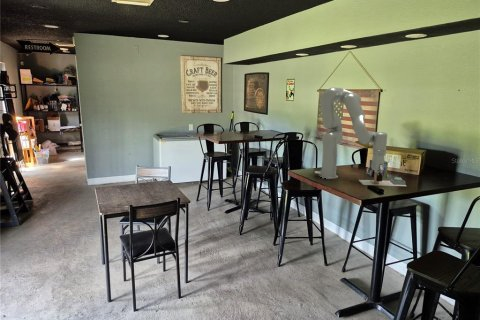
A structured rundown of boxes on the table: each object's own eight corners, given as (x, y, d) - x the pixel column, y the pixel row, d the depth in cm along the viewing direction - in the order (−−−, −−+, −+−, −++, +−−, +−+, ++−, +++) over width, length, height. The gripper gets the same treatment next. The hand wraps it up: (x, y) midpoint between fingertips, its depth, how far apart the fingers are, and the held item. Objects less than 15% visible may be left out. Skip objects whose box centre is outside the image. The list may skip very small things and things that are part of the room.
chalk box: (386, 178, 221) (388, 157, 218) (373, 178, 221) (375, 157, 219) (381, 175, 230) (383, 154, 227) (368, 175, 231) (370, 154, 228)
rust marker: (374, 183, 204) (375, 169, 203) (372, 182, 208) (374, 168, 206) (379, 184, 204) (381, 170, 202) (378, 182, 207) (379, 168, 206)
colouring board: (363, 185, 203) (363, 181, 202) (358, 181, 215) (358, 176, 214) (406, 187, 200) (407, 182, 200) (399, 182, 212) (400, 178, 212)
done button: (395, 182, 204) (395, 178, 204) (392, 180, 209) (393, 177, 208) (402, 182, 204) (403, 179, 203) (400, 180, 208) (400, 177, 208)
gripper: (368, 149, 211) (366, 175, 214) (377, 154, 194) (374, 182, 197) (381, 150, 210) (378, 176, 213) (390, 154, 193) (387, 183, 196)
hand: (376, 179), depth 205 cm, fingers open, 9 cm apart
